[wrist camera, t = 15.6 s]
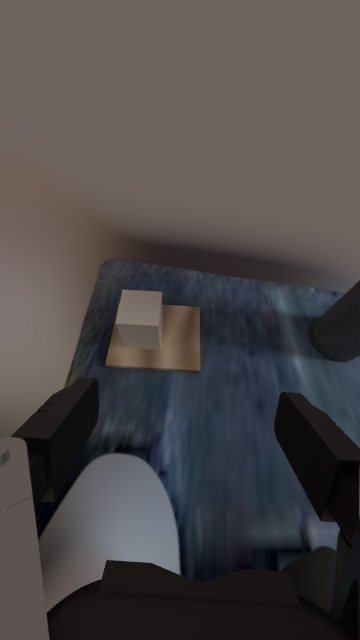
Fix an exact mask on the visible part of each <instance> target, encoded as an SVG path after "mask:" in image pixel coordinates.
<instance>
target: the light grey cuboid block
mask: <svg viewBox="0 0 360 640" xmlns="http://www.w3.org/2000/svg"><path fill="white" fill-rule="evenodd" d="M116 326H117V329H118V331H119V334H120V336H121V339H122V342H123V344H124V347H125V348H135V349H153V350H160V347H161V337H162V326H163V305H162V292H153V291H136V290H123V291H122V296H121V300H120V305H119V310H118V314H117V319H116Z"/></svg>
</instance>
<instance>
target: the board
mask: <svg viewBox="0 0 360 640" xmlns="http://www.w3.org/2000/svg"><path fill="white" fill-rule="evenodd" d="M119 305H120V302H119ZM119 305H118V310H119ZM118 310H117V314H118ZM117 314H116V319H117ZM116 319H115V323H114V328H113V332H112V337H111V341H110V346H109V350H108V355H107V359H106V364H105V366H106V367H114V368H132V369H150V370H168V371H186V372H200V307H191V306H175V305H163V326H162V337H161V347H160V350H153V349H135V348H125V347H124V344H123V342H122V339H121V336H120V334H119V331H118V329H117V326H116Z"/></svg>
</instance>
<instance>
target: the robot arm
mask: <svg viewBox="0 0 360 640" xmlns="http://www.w3.org/2000/svg"><path fill="white" fill-rule="evenodd" d="M310 337H311V340H312V342H313V344H314V345H315V347H316V348H317V349H318V350H319V351H320V352H321V353H322V354H323V355H325V356H327V357H328V358H330V359H333V360H336V361H341V362H346V361H351V360H353V359H355V358H357V357H358V356H360V280H359V281H358V282H357V283H356V284H355V285H354V286H353V287H352V288H351V289H350V290H349V291H348V292H347V293H345V294H344V295H343V296H342V297H341V298H340V299H339V300H338V301H337V302H336V303H335V304H334V305H332V306H331V307H330V308H329V309H328V310H327V311H326V312H325V313H324V314H323V315H322V316H321V317H319V318H318V319H317V320H316V321H315V322H314V323H313V324H312V326H311V329H310ZM98 415H99V389H98V380H97V379H92V378H78V379H77V380H76V381H75V382H74V383H73V384H72V385H71V386H70V387H69V389H65V388H64V389H62V390H60V391H59V392H57V393H55V394H53V395H52V396H51V397H50V398H49V399H48V400H47V401H46V402H45V403H44V405H42V406H41V407H40V408H39V409H38V410H37V412H35V413H34V414H33V415H32V416H31V417H30V418H29V419H28V420H27V421H26V422H25V423H24V424H23V425H22V426H21V427H20V428H19V429H18V430H17V431H16V432H15V433H14V434H13V435H12V436H11V437H9V438H3V439H0V640H360V449H359V447H358V446H357V445H356V444H355V443H354V442H353V441H352V440H351V439H350V438H349V437H348V436H347V435H346V434H344V432H343V431H342V430H341V429H340V428H339V426H336V423H335V422H334V421H333V420H332V419H331V418H330V417H329V416H328V415H327V414H326V413H324V412H323V411H321V410H320V409H318V408H317V407H315V406H312V405H311V403H310V402H309V401H308V400H307V399H306V398H305V397H304V396H303V395H302V394H300V393H287V392H282V393H281V394H280V397H279V402H278V407H277V412H276V417H275V423H274V430H275V435H276V438H277V440H278V442H279V444H280V446H281V448H282V450H283V452H284V453H285V455H286V457H287V459H288V461H289V463H290V465H291V467H292V468H293V470H294V472H295V474H296V476H297V478H298V480H299V482H300V483H301V485H302V487H303V489H304V491H305V493H306V495H307V497H308V498H309V500H310V502H311V504H312V506H313V508H314V510H315V512H316V513H317V515H318V517H319V519H320V521H324V522H337V524H338V526H339V527H340V531H339V534H338V539H337V550H336V561H335V562H336V563H335V572H334V583H333V595H332V603H331V609H330V614H329V613H328V612H326V611H325V610H324V609H322V608H321V607H319V606H318V605H317V604H315V603H313V602H312V601H310V600H308V599H306V598H305V597H302V596H301V595H298V594H296V591H295V588H294V585H293V582H292V579H291V577H290V574H289V572H278V571H263V570H248V569H243V570H240V571H237V572H234V573H230V574H227V575H224V576H220V577H217V578H214V579H211V580H207V581H204V582H196V581H193V580H190V579H188V578H186V577H183V576H181V575H179V574H176V573H174V572H171V571H169V570H167V569H164V568H162V567H160V566H157V565H155V564H152V563H143V562H127V561H113V560H112V561H111V560H107V561H106V564H105V568H104V573H103V576H102V579H101V580H98V581H95V582H92V583H90V584H88V585H85V586H83V587H81V588H80V589H78V590H76V591H74V592H73V593H71V594H70V595H68V596H67V597H65V598H64V599H63V600H61V601H60V602H59V603H57V604H56V605H55V606H54V607H53V608H52V609H51V610H50V611H48V612H47V613H46V606H45V598H44V589H43V580H42V572H41V564H40V555H39V546H38V538H37V529H36V521H35V510H36V509H37V507H38V505H39V504H40V502H41V501H46V502H54V501H55V500H56V498H57V496H58V494H59V492H60V490H61V488H62V487H63V485H64V483H65V481H66V479H67V477H68V475H69V474H70V472H71V470H72V468H73V466H74V464H75V463H76V461H77V459H78V457H79V455H80V453H81V451H82V450H83V448H84V446H85V444H86V442H87V440H88V439H89V437H90V435H91V433H92V431H93V429H94V427H95V425H96V423H97V420H98Z"/></svg>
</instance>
